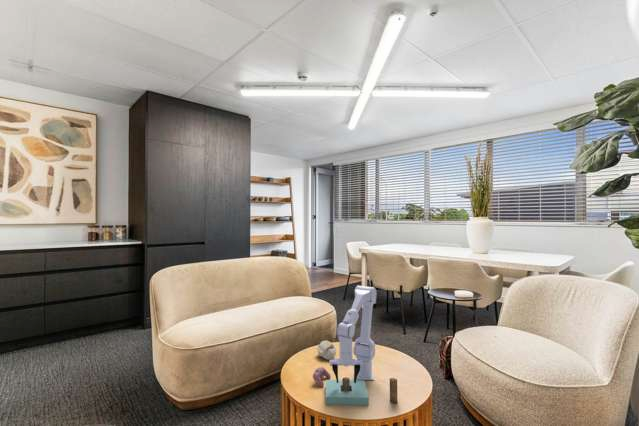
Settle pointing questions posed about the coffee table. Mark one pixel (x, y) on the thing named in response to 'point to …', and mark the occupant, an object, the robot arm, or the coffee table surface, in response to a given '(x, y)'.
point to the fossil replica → (326, 350)
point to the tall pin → (393, 390)
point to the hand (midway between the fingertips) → (346, 382)
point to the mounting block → (346, 393)
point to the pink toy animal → (320, 375)
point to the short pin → (345, 384)
